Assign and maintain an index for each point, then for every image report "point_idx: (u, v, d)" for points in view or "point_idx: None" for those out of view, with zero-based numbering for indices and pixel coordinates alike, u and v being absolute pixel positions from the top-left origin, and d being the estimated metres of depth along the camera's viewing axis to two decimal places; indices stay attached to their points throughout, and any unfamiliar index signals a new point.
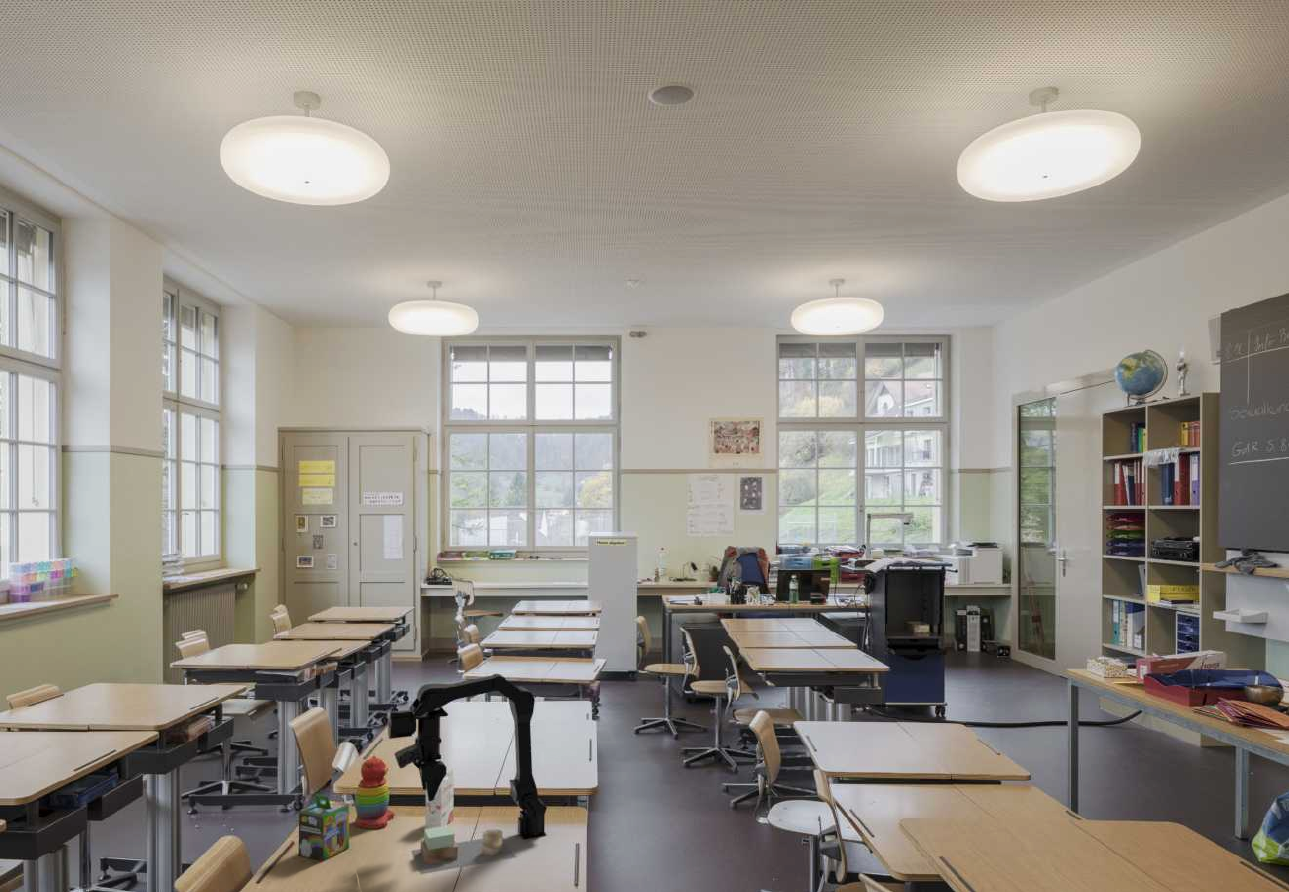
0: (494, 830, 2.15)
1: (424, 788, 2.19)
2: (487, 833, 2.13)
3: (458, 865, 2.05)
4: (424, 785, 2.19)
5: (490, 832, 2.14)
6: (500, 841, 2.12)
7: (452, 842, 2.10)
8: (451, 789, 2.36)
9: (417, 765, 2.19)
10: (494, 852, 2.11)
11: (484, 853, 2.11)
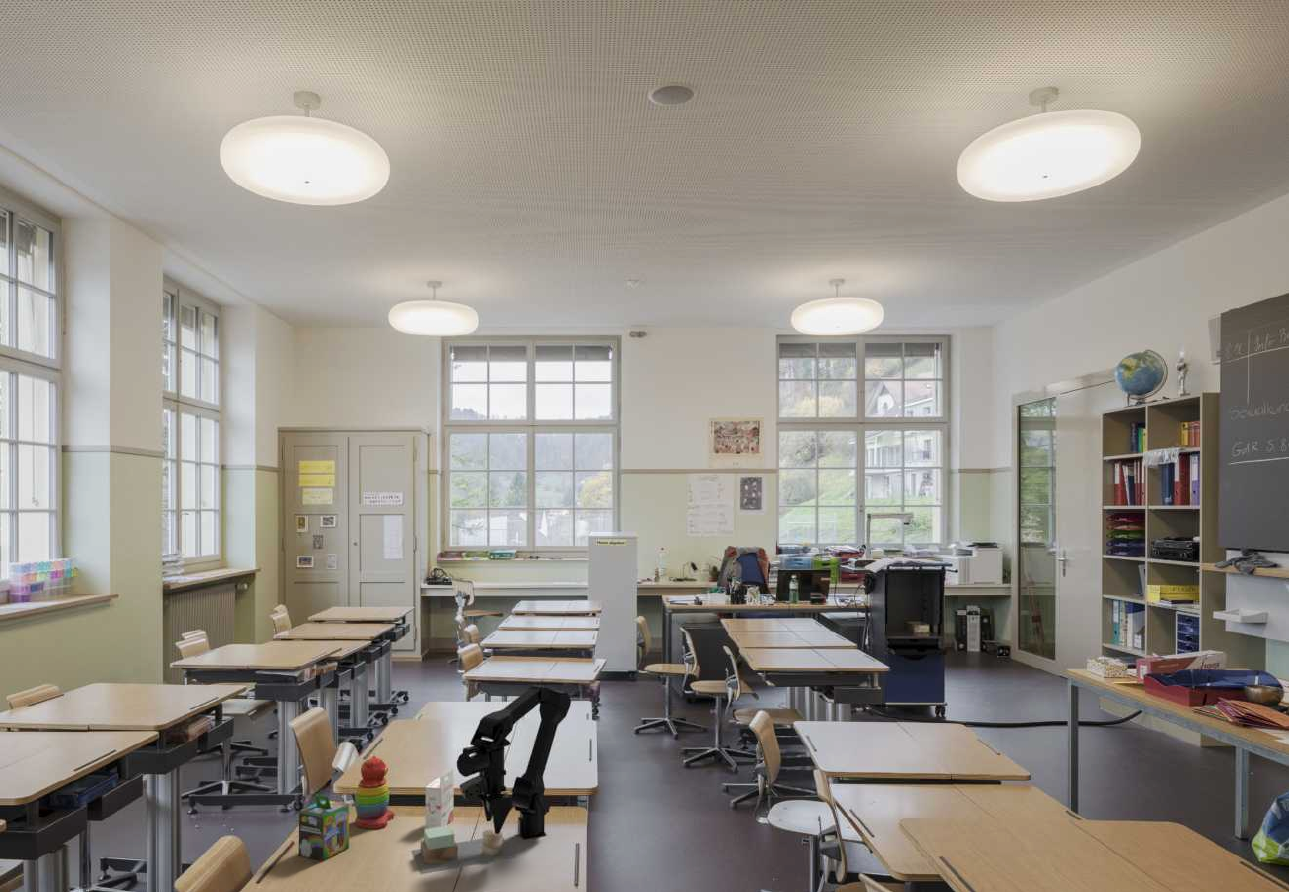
0: None
1: (488, 819, 2.18)
2: (487, 833, 2.13)
3: (458, 865, 2.05)
4: (488, 816, 2.18)
5: (490, 832, 2.14)
6: (500, 841, 2.12)
7: (452, 842, 2.10)
8: (451, 789, 2.36)
9: (481, 796, 2.18)
10: (494, 852, 2.11)
11: (484, 853, 2.11)
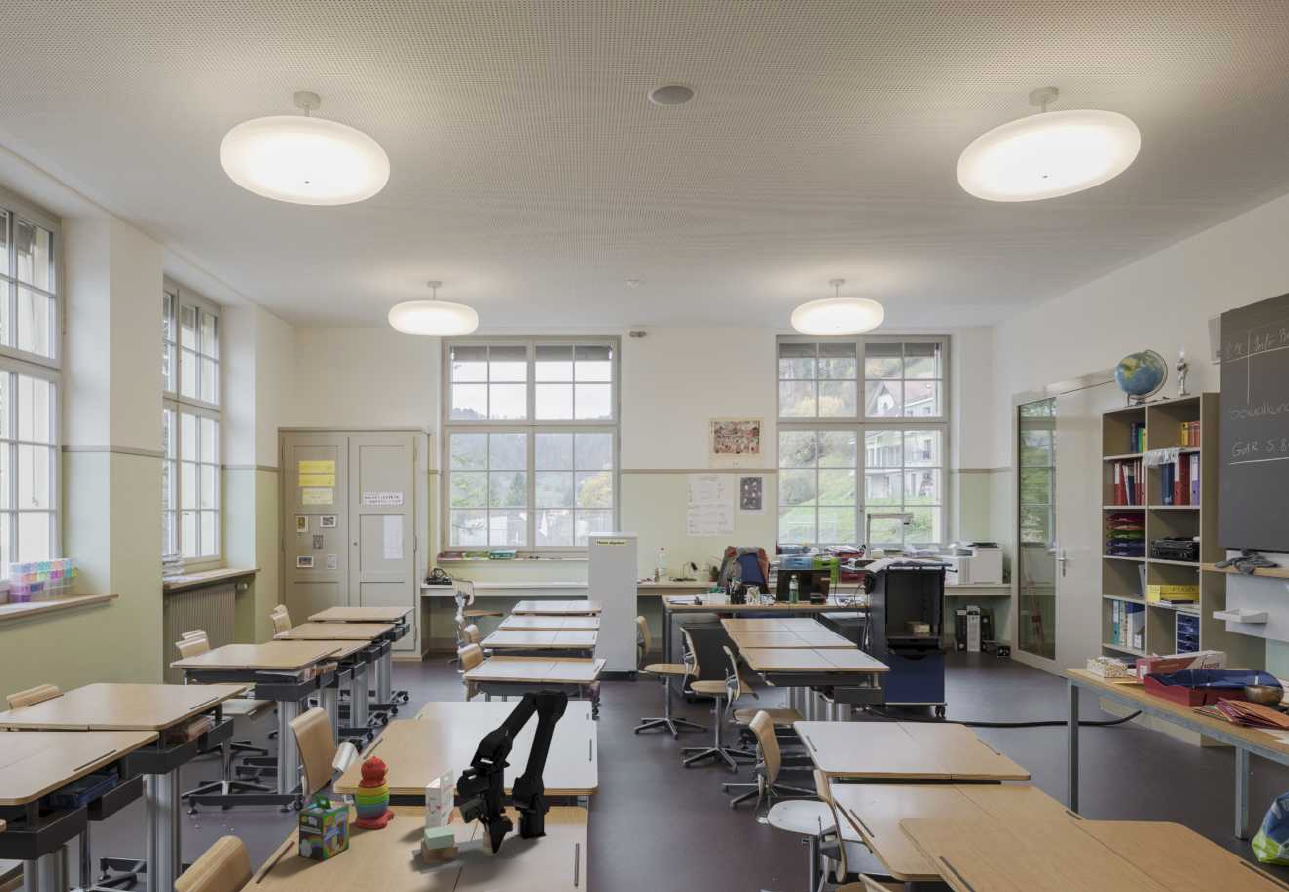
0: None
1: None
2: (487, 833, 2.13)
3: (458, 865, 2.05)
4: None
5: None
6: None
7: (452, 842, 2.10)
8: (451, 789, 2.36)
9: (482, 821, 2.16)
10: None
11: (484, 853, 2.11)
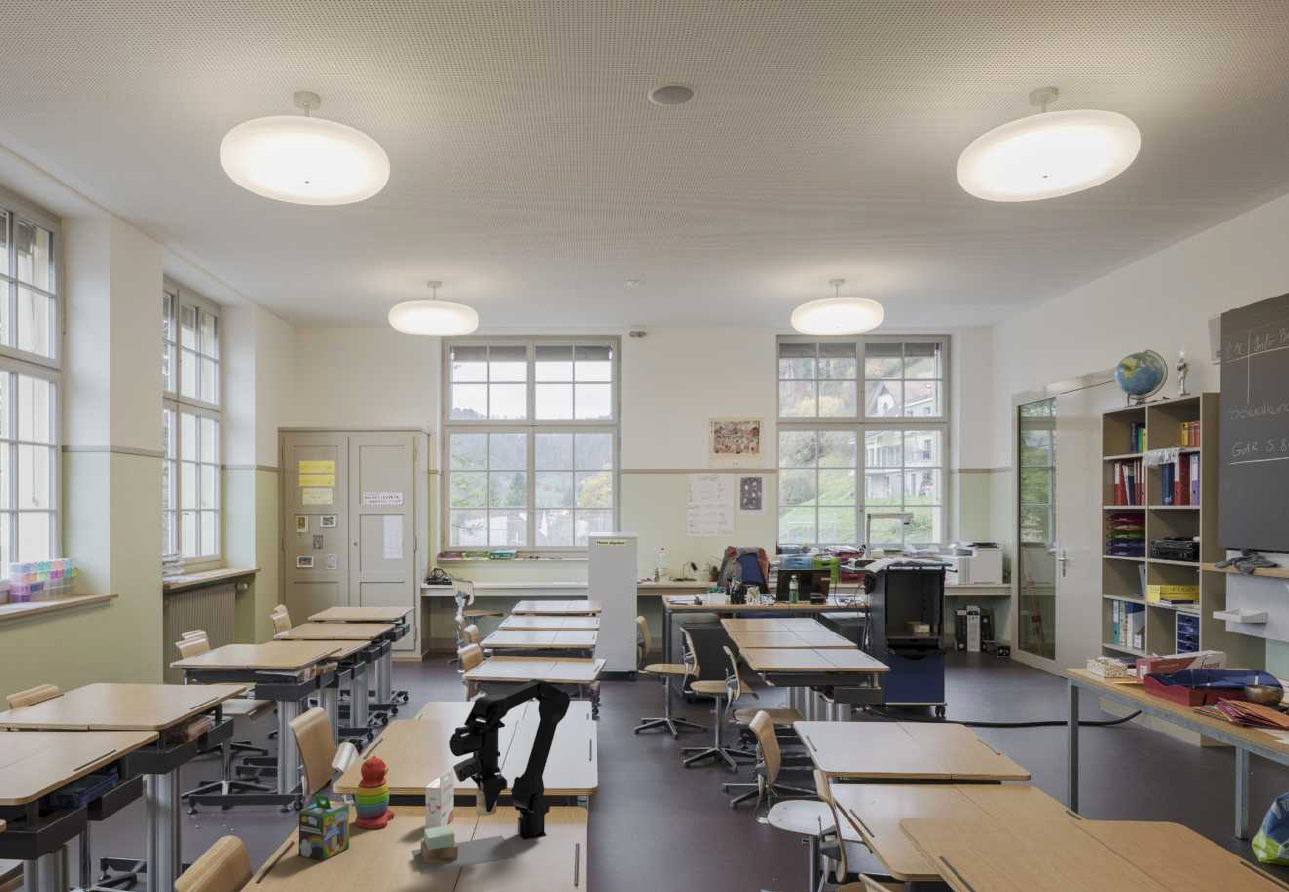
0: None
1: None
2: (481, 792, 2.13)
3: (458, 865, 2.05)
4: None
5: None
6: None
7: (452, 842, 2.10)
8: (451, 789, 2.36)
9: (476, 780, 2.16)
10: None
11: (478, 812, 2.12)
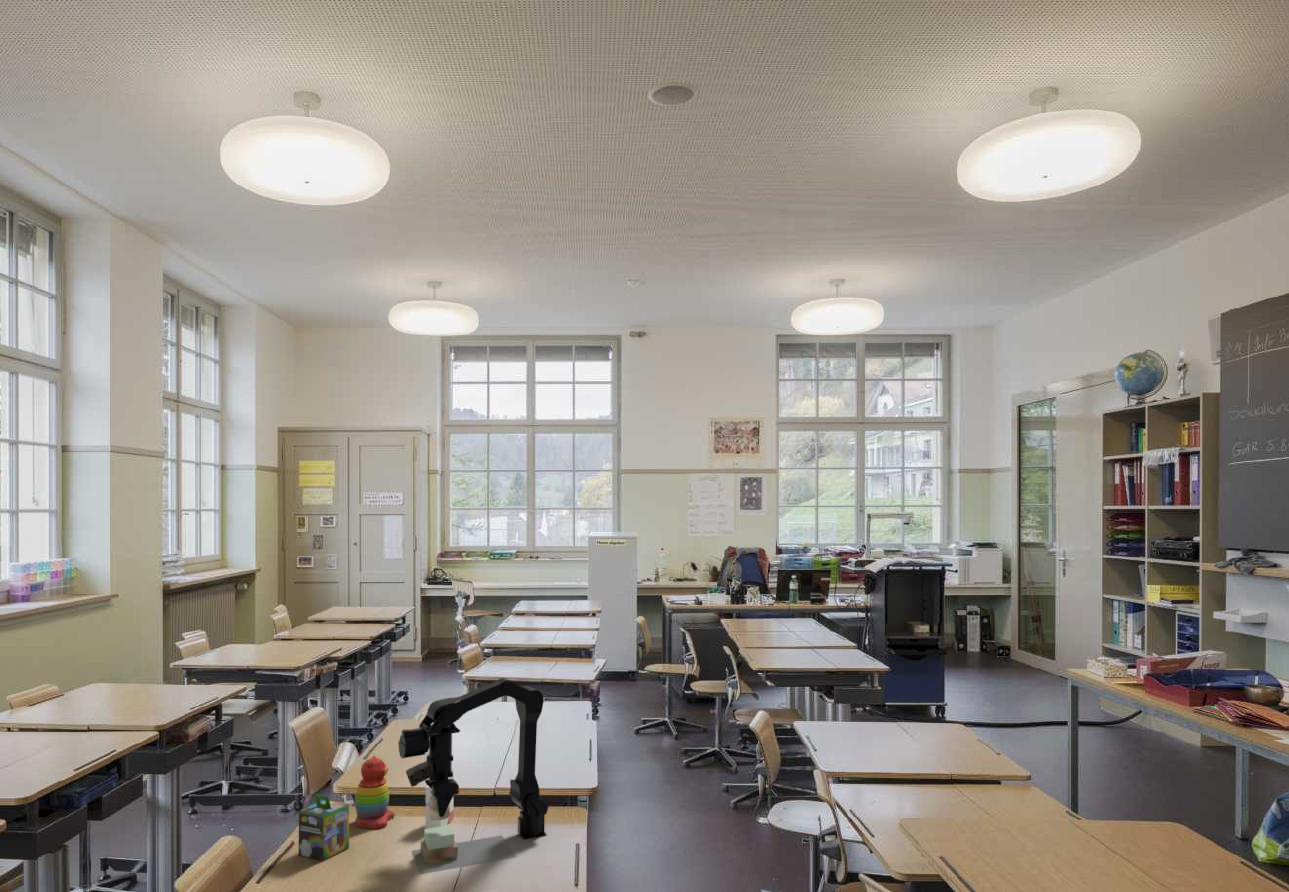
0: None
1: None
2: (434, 797, 2.12)
3: (458, 865, 2.05)
4: None
5: None
6: None
7: (452, 842, 2.10)
8: None
9: (430, 785, 2.15)
10: None
11: (431, 816, 2.10)
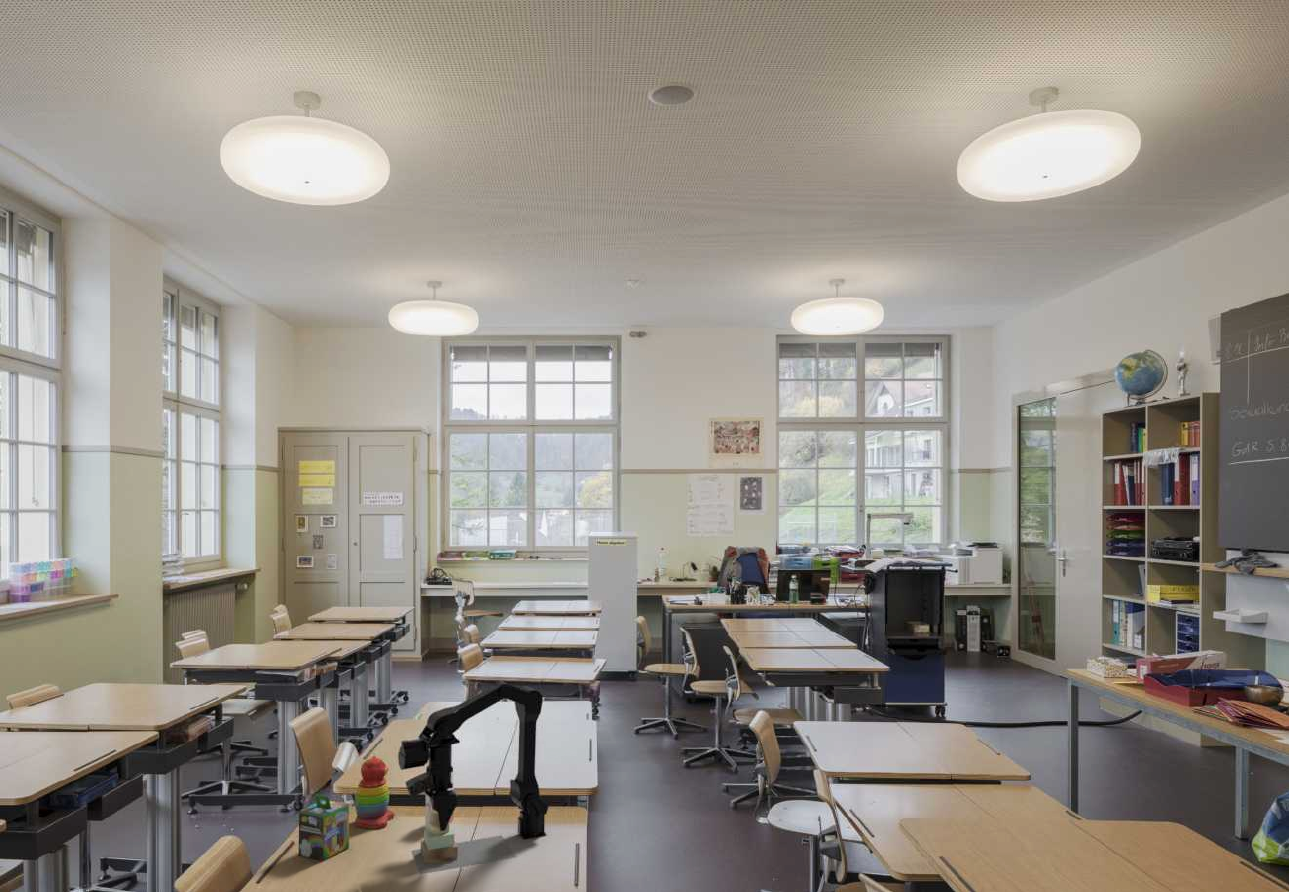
0: None
1: None
2: (434, 812, 2.12)
3: (458, 865, 2.05)
4: None
5: None
6: None
7: (452, 842, 2.10)
8: (451, 789, 2.36)
9: (428, 793, 2.16)
10: (440, 831, 2.10)
11: (430, 832, 2.10)
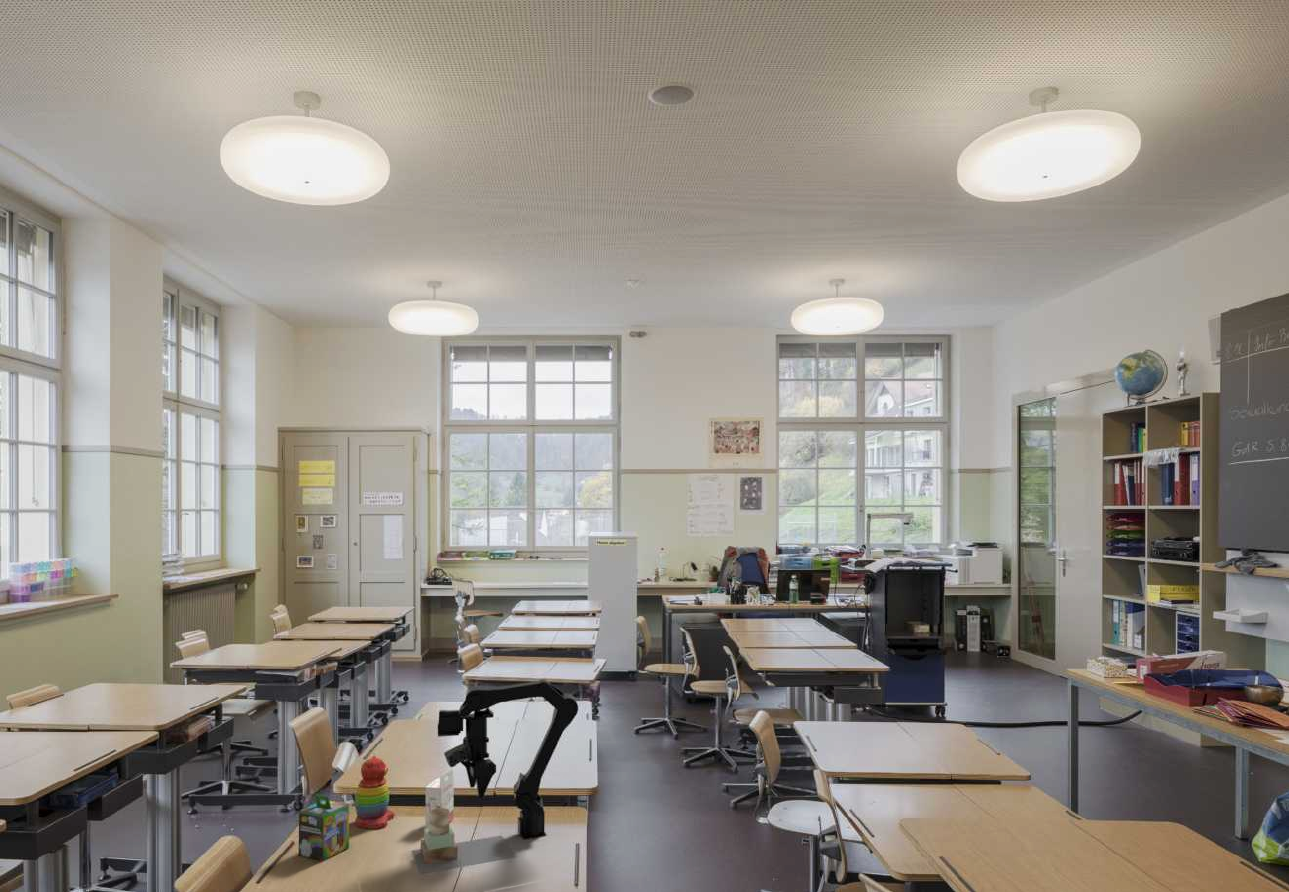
0: (441, 809, 2.14)
1: (472, 786, 2.28)
2: (434, 812, 2.12)
3: (458, 865, 2.05)
4: (471, 783, 2.28)
5: (437, 811, 2.12)
6: (447, 820, 2.11)
7: (452, 842, 2.10)
8: (451, 789, 2.36)
9: (464, 764, 2.28)
10: (440, 831, 2.10)
11: (430, 832, 2.10)
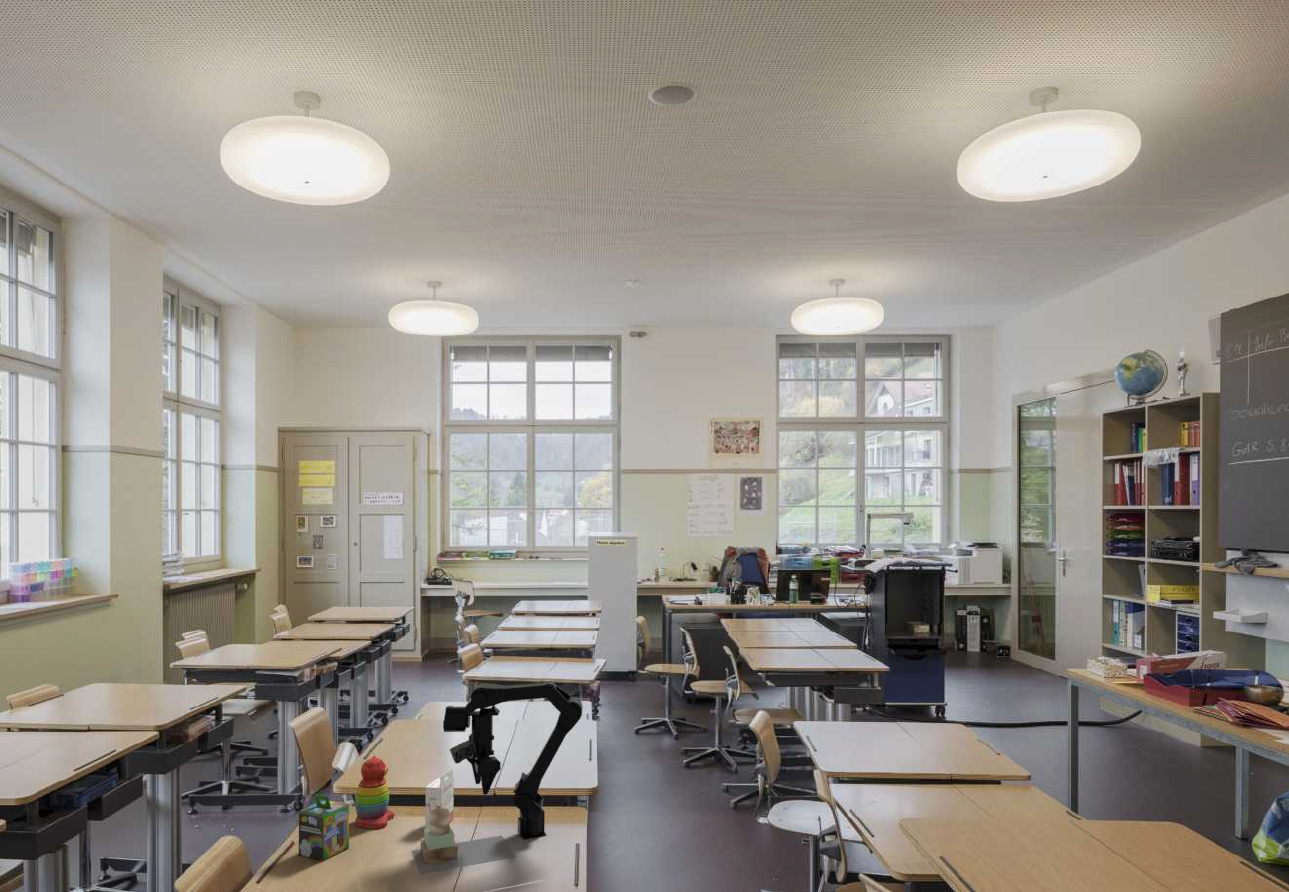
0: (441, 809, 2.14)
1: (477, 782, 2.30)
2: (434, 812, 2.12)
3: (458, 865, 2.05)
4: (477, 780, 2.30)
5: (437, 811, 2.12)
6: (447, 820, 2.11)
7: (452, 842, 2.10)
8: (451, 789, 2.36)
9: (470, 761, 2.30)
10: (440, 831, 2.10)
11: (430, 832, 2.10)
